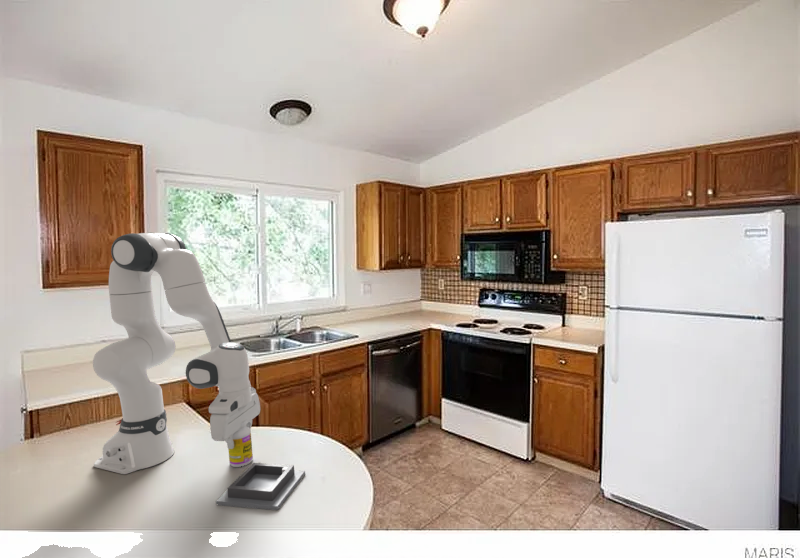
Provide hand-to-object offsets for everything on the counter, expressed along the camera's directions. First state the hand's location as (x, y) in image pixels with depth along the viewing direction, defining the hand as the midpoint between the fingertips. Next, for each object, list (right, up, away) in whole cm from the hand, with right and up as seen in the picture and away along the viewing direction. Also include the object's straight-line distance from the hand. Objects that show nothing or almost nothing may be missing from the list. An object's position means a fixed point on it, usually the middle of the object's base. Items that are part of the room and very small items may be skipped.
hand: (239, 441), depth 126 cm
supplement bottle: (0, -7, +1) cm, 7 cm away
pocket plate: (+12, -7, -14) cm, 20 cm away
